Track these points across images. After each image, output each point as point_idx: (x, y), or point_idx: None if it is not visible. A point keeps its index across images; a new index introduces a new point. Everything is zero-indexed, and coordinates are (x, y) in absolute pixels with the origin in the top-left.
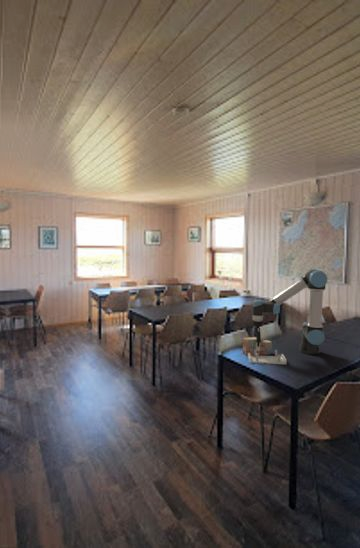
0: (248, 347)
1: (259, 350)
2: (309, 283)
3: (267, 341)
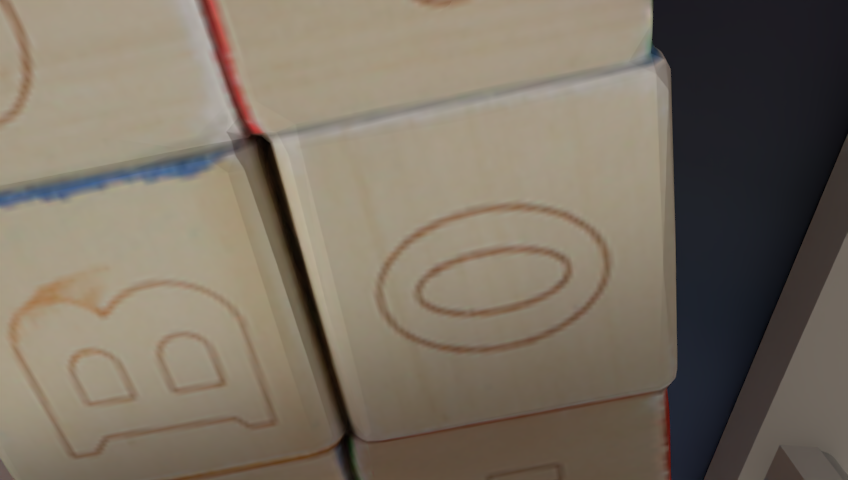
0: None
1: (820, 465)
2: None
3: (302, 55)
